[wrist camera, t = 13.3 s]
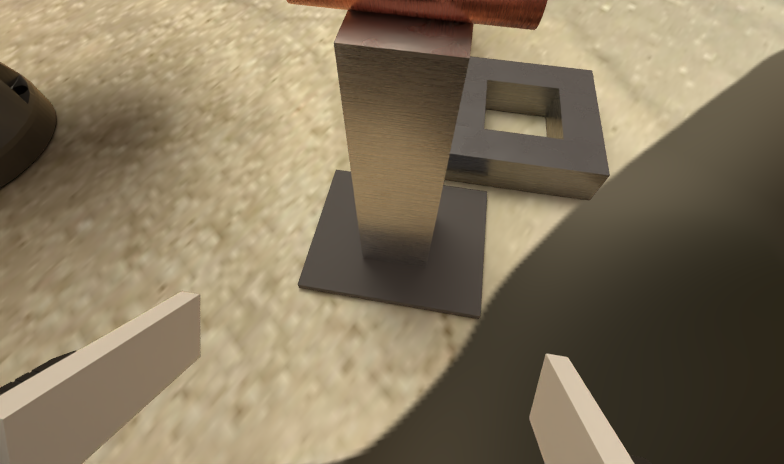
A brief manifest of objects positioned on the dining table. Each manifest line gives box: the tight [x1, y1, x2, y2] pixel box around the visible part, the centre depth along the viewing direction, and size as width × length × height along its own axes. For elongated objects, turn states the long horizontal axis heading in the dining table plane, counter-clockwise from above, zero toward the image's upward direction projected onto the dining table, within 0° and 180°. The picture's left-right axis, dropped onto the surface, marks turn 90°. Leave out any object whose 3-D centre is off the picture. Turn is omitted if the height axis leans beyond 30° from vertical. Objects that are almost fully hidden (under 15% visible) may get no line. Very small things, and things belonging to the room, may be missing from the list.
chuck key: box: [287, 0, 547, 268], centre depth 19 cm, size 8×4×17 cm, turn 80°
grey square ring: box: [444, 57, 610, 200], centre depth 31 cm, size 12×12×3 cm
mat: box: [298, 170, 487, 319], centre depth 26 cm, size 12×10×1 cm
